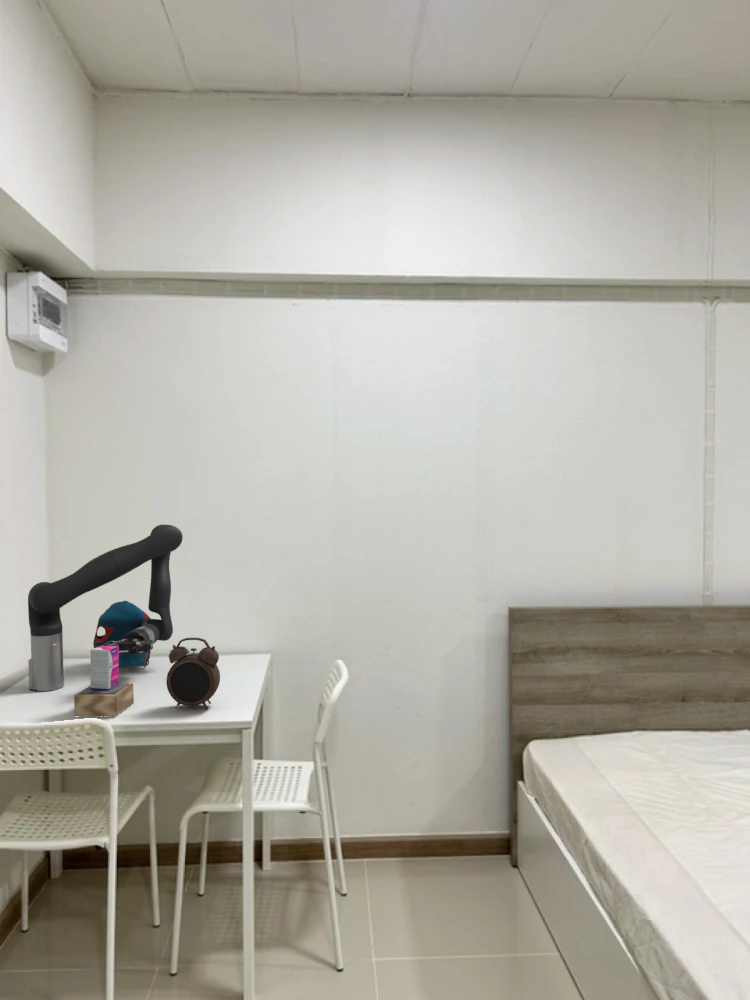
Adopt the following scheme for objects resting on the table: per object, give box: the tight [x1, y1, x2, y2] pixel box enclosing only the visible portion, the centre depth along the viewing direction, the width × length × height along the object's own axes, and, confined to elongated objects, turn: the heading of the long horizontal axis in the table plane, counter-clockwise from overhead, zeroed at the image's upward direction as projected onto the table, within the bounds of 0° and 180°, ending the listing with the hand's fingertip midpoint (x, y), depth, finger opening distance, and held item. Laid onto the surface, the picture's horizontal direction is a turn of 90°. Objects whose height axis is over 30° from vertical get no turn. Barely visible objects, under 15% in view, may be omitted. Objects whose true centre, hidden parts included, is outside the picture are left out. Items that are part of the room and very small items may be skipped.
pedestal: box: [73, 682, 135, 718], centre depth 208 cm, size 12×12×6 cm
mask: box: [92, 600, 152, 669], centre depth 256 cm, size 18×20×25 cm
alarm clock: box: [166, 637, 221, 710], centre depth 209 cm, size 14×7×20 cm, turn 87°
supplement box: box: [89, 646, 120, 691], centre depth 208 cm, size 6×6×12 cm
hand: (118, 651), depth 219 cm, fingers open, 8 cm apart
